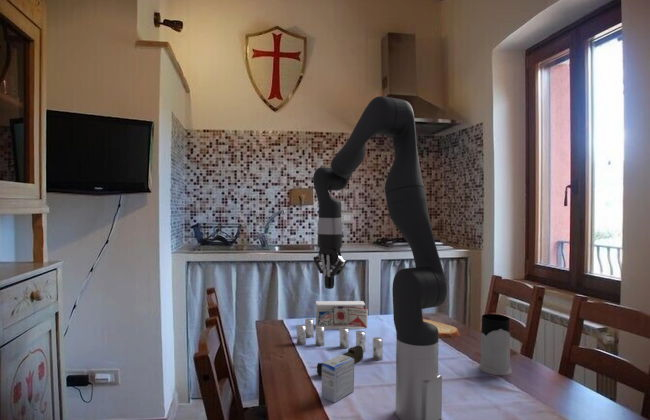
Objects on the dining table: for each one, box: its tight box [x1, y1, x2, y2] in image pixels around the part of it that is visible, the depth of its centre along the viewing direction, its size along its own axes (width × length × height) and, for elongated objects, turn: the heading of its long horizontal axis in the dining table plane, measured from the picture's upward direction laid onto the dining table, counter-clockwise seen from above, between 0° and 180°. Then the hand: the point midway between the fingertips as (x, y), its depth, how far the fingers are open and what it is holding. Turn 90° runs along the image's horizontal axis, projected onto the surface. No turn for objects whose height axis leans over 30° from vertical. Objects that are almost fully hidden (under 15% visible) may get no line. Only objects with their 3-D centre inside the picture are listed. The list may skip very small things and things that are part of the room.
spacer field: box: [296, 318, 384, 361], centre depth 135 cm, size 33×13×6 cm, turn 43°
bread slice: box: [423, 318, 461, 339], centre depth 155 cm, size 18×18×4 cm
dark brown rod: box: [316, 345, 364, 378], centre depth 119 cm, size 19×4×5 cm, turn 135°
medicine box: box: [321, 354, 355, 403], centre depth 102 cm, size 8×4×9 cm, turn 141°
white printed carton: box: [315, 300, 369, 330], centre depth 159 cm, size 20×6×9 cm, turn 92°
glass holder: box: [478, 313, 512, 376], centre depth 121 cm, size 9×14×15 cm, turn 178°
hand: (329, 288), depth 127 cm, fingers closed
